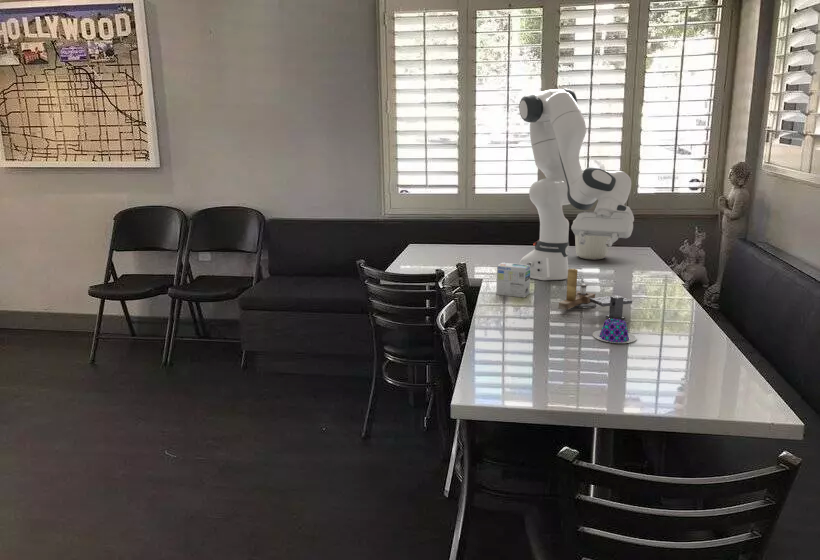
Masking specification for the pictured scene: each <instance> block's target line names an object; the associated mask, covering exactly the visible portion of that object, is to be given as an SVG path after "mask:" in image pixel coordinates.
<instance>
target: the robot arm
mask: <svg viewBox="0 0 820 560" xmlns="http://www.w3.org/2000/svg"><path fill="white" fill-rule="evenodd" d="M518 109H519V115H520V118H522V120H523V122H526V123H529V136H530V143H531V148H532V153H533V158H534V163H535V165H536V168H537V169H538V170H540V171H541V172H542V173H543V175H544V177H545V178H542V179H539V180H536V181H535V182H533V183H532V184H531V186H530V188H529V191H528V195H529V199H530V202H531V203H532V204H533V205H534V206H535V208H536V210H537V214H538V217H539V239H538V240H537V241H535V242H533V246H534V249H533V250H531V251H530V252H528V253H527V254H526V255H524V256H523V257H522V258H521V259H520V261H519V264H525V265H531V267H530V279H534V280H540V281H551V280H552V281H553V280H554V281H555V280H556V281H558V280H560V281H561V280H567V278H568V269H570V268H569V260H568V259H569V253H570V242H569V231H570V229H571V231H572V232H573V234H574V236H575V235H579V236H580V240H579V244H580V245H584V244H585V242H586V241H585V239H584V238H583V237H585V235H586V236H601V237H611V239H610V240H607V242H606V246H607V247H609V248H611V247H612V246H613V244H614V243H615V242H616V241H618V240H619V239H620V238H621V239H628V238H630V237H631V235H632V233H633V231H634V221H635V217H634V212H633V211H632V209H631V208H630V206H629V205H628V206H627V205H625V204H627V201H628V199H629V196H630V194H631V190H632V179H631V177H630V175H628V174H627V173H626V172H625V171H622V170H614V171H613V170H612V171H610V170H605V169H602V168H601V167H599V166H589V167H587V168H585V169H584V171H583V170H582V166H581V164H580V152H581V150H582V149H581V148H582V144H583V142H584V140H585V137H586V133H587V127H586V120H585V118H584V115H583V113H582V111H581V109H580V106H579V105H578V98H577V95H576V93H575V91H574V90H573V89H571V88H563V87H562V88H555V89H554V88H553V89H546V90H543V91H539V92H535V93H529V94H526V95H524V96H522V98H521V99H520V101H519V106H518ZM596 202H597V203H596ZM595 203H596V206H595V208H594V210H593V211H587V210H589V209H592V208H593V206H594V204H595ZM567 205H571V206H572V207H573V208H575V209H577V210H581V212H579V213H578V214H576V215H577V216H576V218H575V219H574V220H575V221H574V220H573V221H574V222H573V221H572V224H571V226H570V222H569V220H568V219H567V218H566V217H565V214H564V210H563V206H567ZM570 227H571V228H570Z"/></svg>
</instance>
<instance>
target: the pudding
mask: <svg viewBox="0 0 820 560" xmlns="http://www.w3.org/2000/svg"><path fill="white" fill-rule="evenodd" d="M598 335H599V336H598ZM592 337H594V338H595V339H597V340H600V341H601V342H602V341H603V342H606V343H611V344H617V343H621V344H627V343H628V344H629V343H633V342H635V341H636V340H637V337H636V335H634V334H632V333H630V332H629V331H628V325H627V322H626V321H625V320H620V319H608V318H606V320H604V322H603V325H602V328H601V329H599V330H595V331H594V332H592Z"/></svg>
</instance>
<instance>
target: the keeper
mask: <svg viewBox="0 0 820 560" xmlns="http://www.w3.org/2000/svg"><path fill="white" fill-rule="evenodd" d="M590 302H592V303H595V304H596V306H600V307H603V308H604V307H609V311H608V315H606V316H605V318H606V317H607V318H606V319H608V318H610V319H620V320H623V321H625V320H626V318H625V317H624V316H623V310H624V305H631V304H633V300H632V299H630V298H627V297H624V296H621V295H620V294H618V295H608V296H599V297H595V298H590ZM624 319H625V320H624Z"/></svg>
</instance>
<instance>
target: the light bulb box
mask: <svg viewBox="0 0 820 560" xmlns="http://www.w3.org/2000/svg"><path fill="white" fill-rule="evenodd" d="M530 267H531V265H525V264H520V263H511V262H501V263H499V264H497V266H496V289H495V292H496V293H495V294H496V295H499V296H507V297H509V296H510V297H516V298H518V297H519V298H526V297H527V296H529V294H530V292H531V291H530V290H531V278H530Z"/></svg>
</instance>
